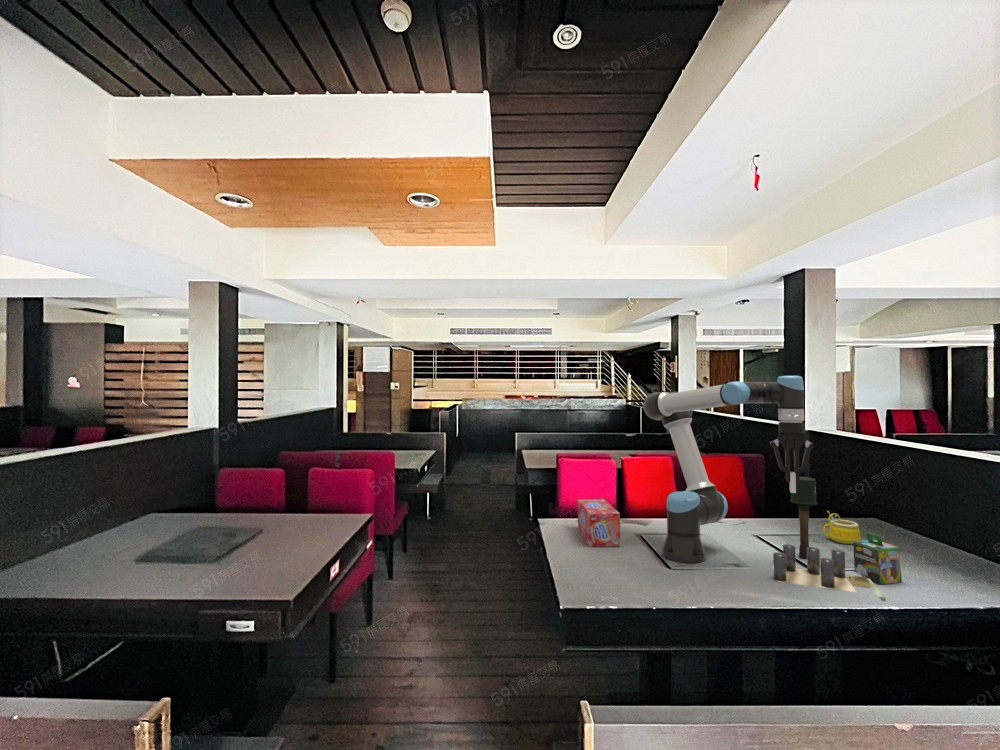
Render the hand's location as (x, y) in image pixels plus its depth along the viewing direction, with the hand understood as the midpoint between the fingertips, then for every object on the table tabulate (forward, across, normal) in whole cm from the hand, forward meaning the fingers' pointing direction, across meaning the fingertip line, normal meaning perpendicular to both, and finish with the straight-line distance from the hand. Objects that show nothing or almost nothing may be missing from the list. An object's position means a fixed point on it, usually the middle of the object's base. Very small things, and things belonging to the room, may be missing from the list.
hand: (792, 492), depth 164 cm
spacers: (+27, +4, -2) cm, 27 cm away
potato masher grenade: (+29, +6, +21) cm, 36 cm away
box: (+29, -70, +19) cm, 78 cm away
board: (+28, +8, -2) cm, 30 cm away
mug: (+29, +24, +54) cm, 66 cm away
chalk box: (+29, +25, +10) cm, 39 cm away
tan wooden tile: (+27, +17, -2) cm, 33 cm away
